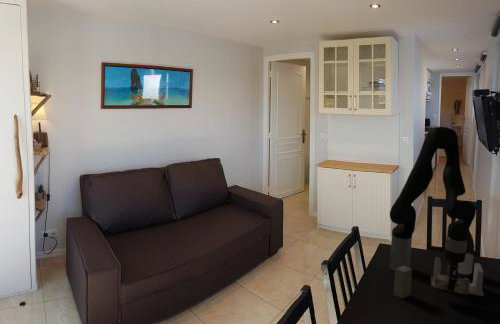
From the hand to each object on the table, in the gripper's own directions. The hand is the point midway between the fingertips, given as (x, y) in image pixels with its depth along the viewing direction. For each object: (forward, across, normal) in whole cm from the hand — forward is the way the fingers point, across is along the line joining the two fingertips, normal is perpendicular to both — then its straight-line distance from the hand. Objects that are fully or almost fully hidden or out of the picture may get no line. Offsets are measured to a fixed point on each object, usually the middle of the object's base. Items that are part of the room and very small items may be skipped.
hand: (450, 286), depth 149 cm
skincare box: (+7, +4, -18) cm, 20 cm away
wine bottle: (+7, -31, +8) cm, 33 cm away
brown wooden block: (+1, 0, 0) cm, 1 cm away
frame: (+7, -15, +4) cm, 17 cm away
